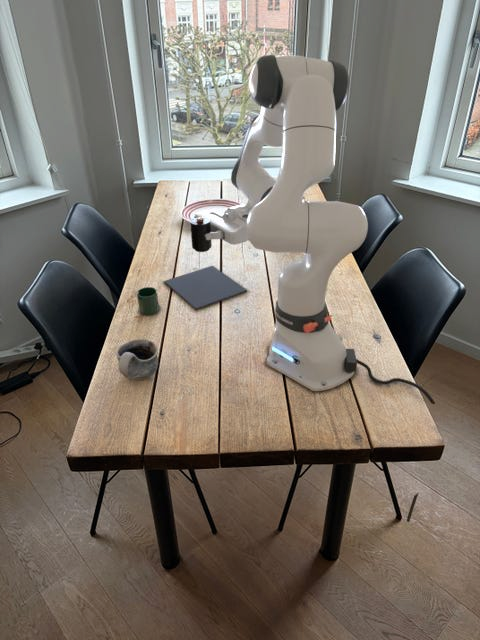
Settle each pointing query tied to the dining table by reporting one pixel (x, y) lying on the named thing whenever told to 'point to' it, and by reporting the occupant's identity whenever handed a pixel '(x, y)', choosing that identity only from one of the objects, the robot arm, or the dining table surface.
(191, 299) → the mat
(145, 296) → the glass
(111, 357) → the dining table surface
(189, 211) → the dinner plate
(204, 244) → the black canister with knob
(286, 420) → the dining table surface
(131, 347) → the mug
